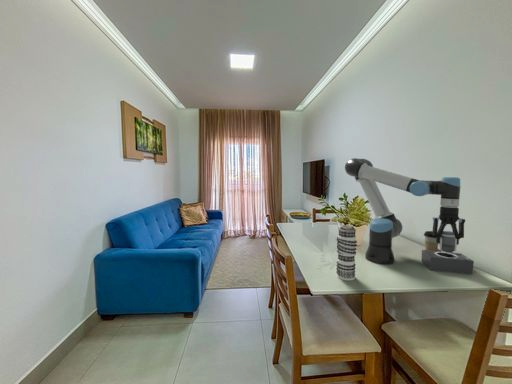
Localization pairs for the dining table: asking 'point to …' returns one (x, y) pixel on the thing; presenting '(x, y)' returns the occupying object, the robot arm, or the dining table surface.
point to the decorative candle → (346, 253)
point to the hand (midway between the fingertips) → (446, 249)
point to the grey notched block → (447, 262)
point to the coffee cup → (430, 242)
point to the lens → (448, 241)
